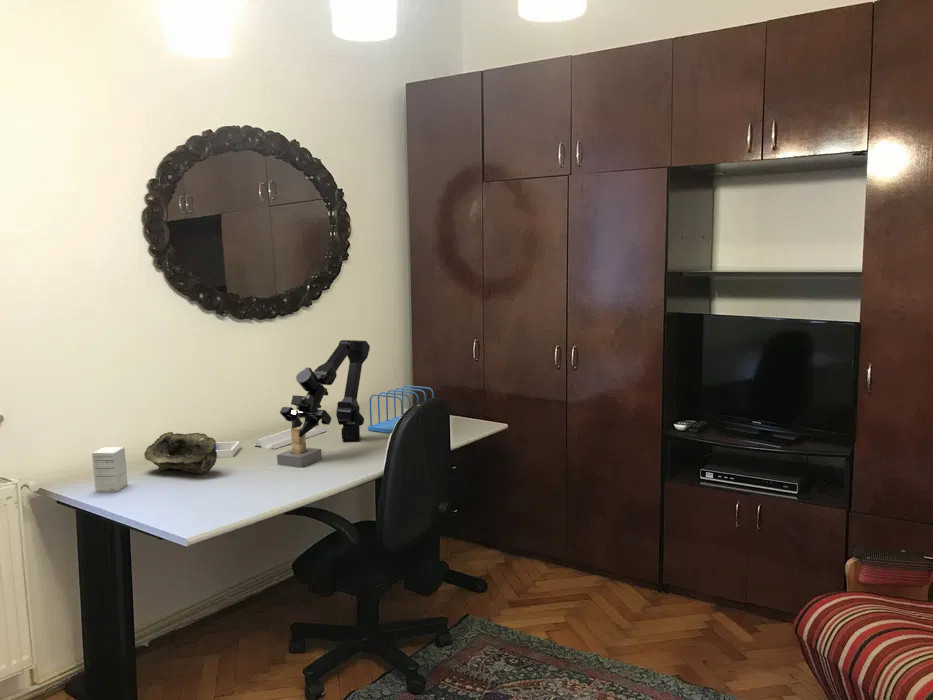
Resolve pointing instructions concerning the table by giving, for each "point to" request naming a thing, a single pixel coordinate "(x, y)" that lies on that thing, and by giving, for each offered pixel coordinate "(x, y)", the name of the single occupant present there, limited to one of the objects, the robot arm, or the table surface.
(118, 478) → the supplement box
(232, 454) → the tray
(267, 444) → the crown molding
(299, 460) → the end cap
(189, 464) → the hollow geode rock
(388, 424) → the file sorter
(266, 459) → the table surface
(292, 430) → the tan wooden block
